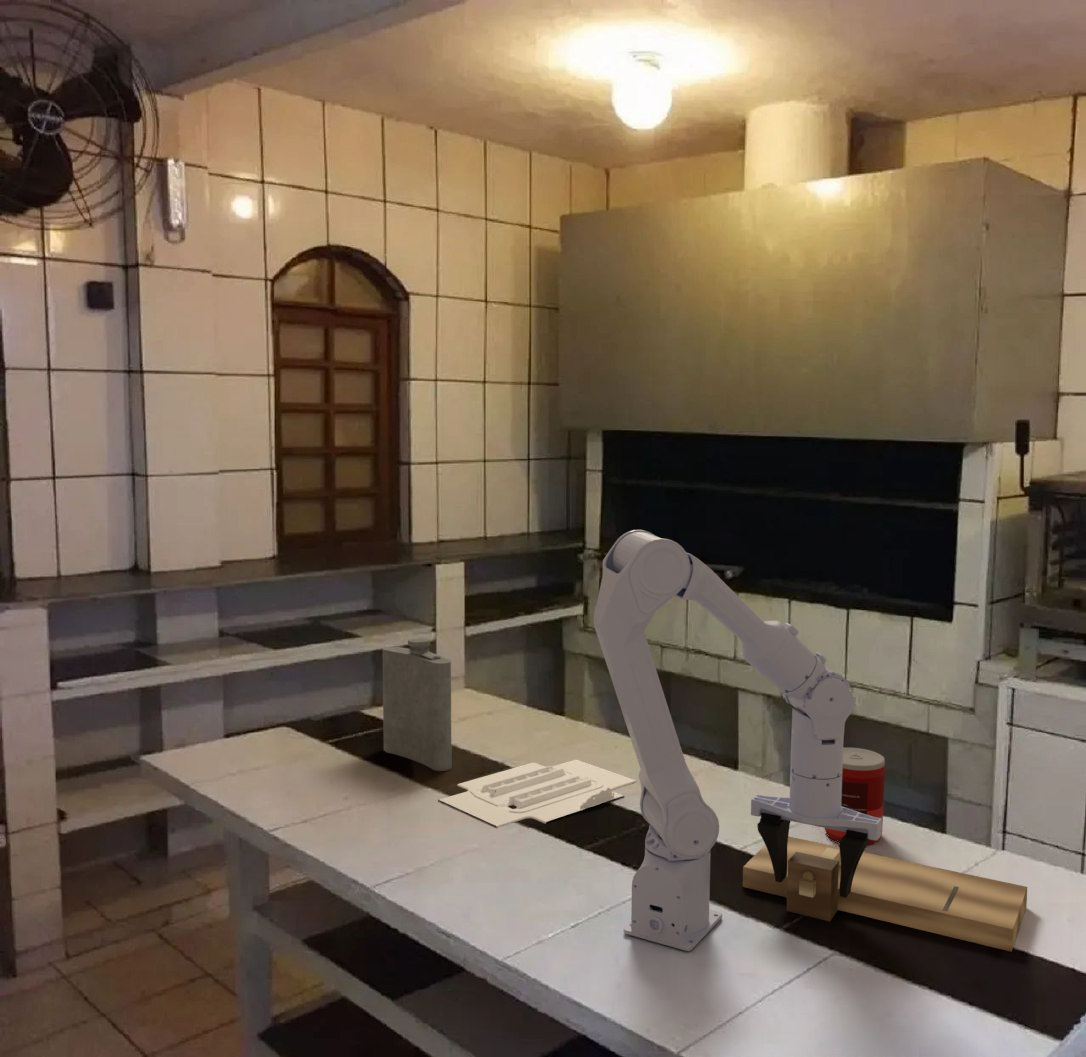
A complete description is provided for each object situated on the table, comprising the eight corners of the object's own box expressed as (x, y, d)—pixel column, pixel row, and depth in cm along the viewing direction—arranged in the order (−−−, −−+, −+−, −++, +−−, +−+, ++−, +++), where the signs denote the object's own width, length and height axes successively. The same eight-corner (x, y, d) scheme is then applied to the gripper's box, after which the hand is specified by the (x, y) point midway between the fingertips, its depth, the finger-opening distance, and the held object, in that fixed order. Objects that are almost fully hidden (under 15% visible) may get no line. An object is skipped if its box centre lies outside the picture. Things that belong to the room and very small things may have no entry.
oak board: (1011, 951, 114) (1012, 929, 113) (742, 886, 129) (743, 866, 129) (1026, 907, 124) (1027, 886, 124) (775, 852, 139) (776, 833, 139)
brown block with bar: (827, 925, 119) (828, 873, 119) (783, 914, 122) (785, 863, 121) (853, 888, 129) (855, 840, 128) (812, 878, 131) (814, 831, 131)
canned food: (870, 823, 149) (873, 746, 148) (891, 846, 141) (894, 765, 140) (816, 823, 149) (818, 747, 148) (833, 846, 141) (836, 765, 140)
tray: (424, 799, 160) (424, 775, 159) (560, 765, 178) (561, 744, 178) (513, 840, 145) (513, 813, 144) (652, 798, 163) (653, 775, 163)
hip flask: (379, 750, 181) (378, 633, 179) (399, 744, 184) (397, 630, 182) (440, 772, 170) (439, 648, 168) (459, 766, 173) (459, 644, 170)
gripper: (890, 772, 121) (885, 887, 122) (766, 751, 128) (763, 860, 130) (874, 790, 115) (869, 911, 116) (745, 767, 122) (742, 881, 124)
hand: (812, 886), depth 122 cm, fingers open, 7 cm apart
